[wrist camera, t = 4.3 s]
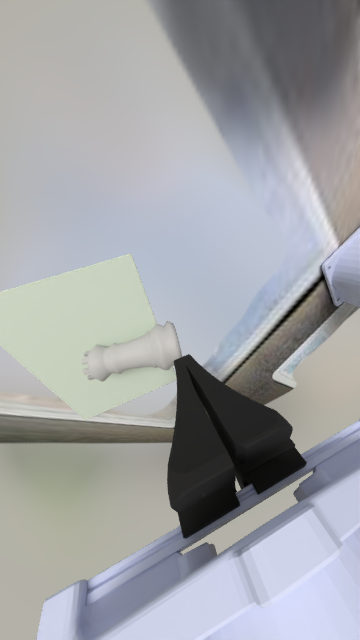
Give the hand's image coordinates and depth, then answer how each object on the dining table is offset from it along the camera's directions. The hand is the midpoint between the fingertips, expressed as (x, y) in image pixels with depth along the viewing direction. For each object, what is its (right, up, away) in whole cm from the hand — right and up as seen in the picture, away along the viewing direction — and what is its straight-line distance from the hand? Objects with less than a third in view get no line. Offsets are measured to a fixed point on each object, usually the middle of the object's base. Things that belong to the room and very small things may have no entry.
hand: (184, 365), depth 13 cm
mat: (-8, 0, +3) cm, 9 cm away
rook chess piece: (0, +2, +2) cm, 3 cm away
